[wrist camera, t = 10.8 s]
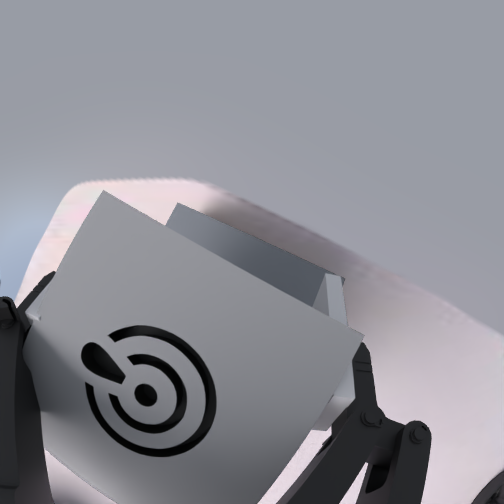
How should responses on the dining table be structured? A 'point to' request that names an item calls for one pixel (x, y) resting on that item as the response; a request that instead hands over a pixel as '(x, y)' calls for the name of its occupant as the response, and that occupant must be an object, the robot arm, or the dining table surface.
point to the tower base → (250, 254)
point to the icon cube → (175, 366)
